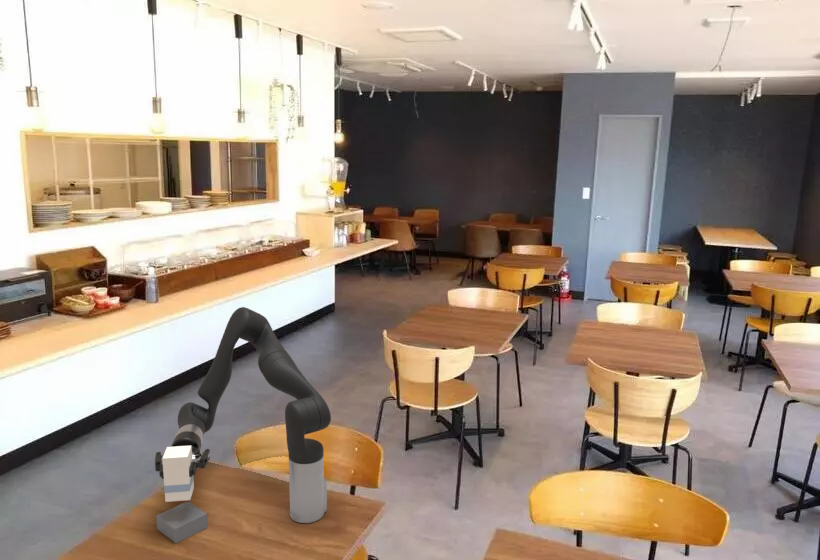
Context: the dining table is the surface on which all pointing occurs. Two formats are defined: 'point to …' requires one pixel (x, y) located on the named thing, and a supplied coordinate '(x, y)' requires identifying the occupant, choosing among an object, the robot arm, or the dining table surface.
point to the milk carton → (177, 473)
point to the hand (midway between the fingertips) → (176, 474)
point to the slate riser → (181, 522)
